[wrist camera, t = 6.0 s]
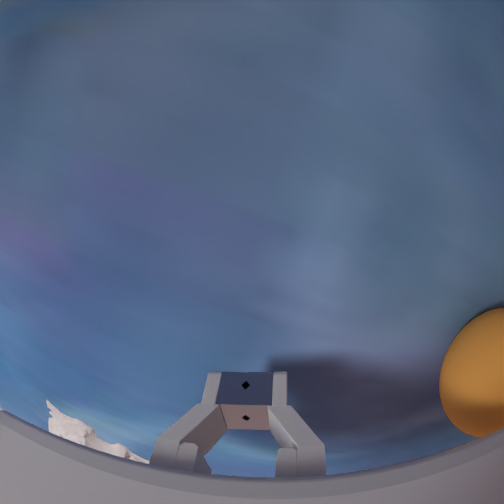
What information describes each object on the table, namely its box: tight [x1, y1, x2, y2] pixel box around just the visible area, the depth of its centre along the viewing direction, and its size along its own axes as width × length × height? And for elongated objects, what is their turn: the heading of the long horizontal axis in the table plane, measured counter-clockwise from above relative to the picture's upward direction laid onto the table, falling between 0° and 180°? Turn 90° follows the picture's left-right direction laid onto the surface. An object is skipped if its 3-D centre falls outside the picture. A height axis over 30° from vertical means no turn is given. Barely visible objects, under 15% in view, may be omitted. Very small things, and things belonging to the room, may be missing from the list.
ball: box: [439, 308, 504, 438], centre depth 9 cm, size 6×6×6 cm
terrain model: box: [47, 401, 150, 464], centre depth 22 cm, size 17×23×5 cm
